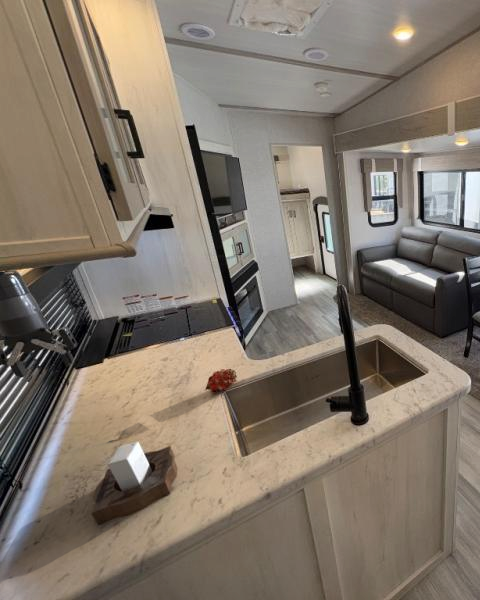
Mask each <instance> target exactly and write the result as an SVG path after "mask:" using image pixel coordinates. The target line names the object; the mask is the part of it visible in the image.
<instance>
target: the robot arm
mask: <svg viewBox="0 0 480 600" xmlns="http://www.w3.org/2000/svg"><path fill="white" fill-rule="evenodd" d="M0 335H1V336H2V337H3V340H0V367H1V366H8V367H10V369H11V371H12V372H13V374H14V376H16V377H19V378H25V377H27V375H28V374H29V373H28V370H27V369H26V366H25V365H24V363H23V361H22V360H20V359H21V357H22V355H23V354H24V353H25V354H28V353H32V352H34V351H35V352H36V351H43V350H45V349H46V350H49V351H53V352H56V353H59V354H60V358H61V359H62V362H63V363H64V365H65V367H70V366H72V364H73V362H74V361H75V358H74V356H73V354H72V352H71V351H72V350H74V349H75V348H76V347H77V346H78V342H77V340H76V338H75V337H74V335H73V333H72V332H71V330H70V328H69V327H68V326H65V325H64V326H62V327H61V328H58V329H51V328H50V327H49V324H48V322H47V319H46V318H45V316H44V314H43V312H42V310H41V308H40V306H39V304H38V303H37V300H36V299H35V297H34V295H32V293H31V292H30V290H29V288H28V286H27V284H26V281H25V280H24V277H23V275H21V273H20V272H19V271H18V270H16V269H15V270H13V271H5V272H0ZM54 336H57V337H58V338H61V339H62V341H63V342H64V343H62V342H61V341H59V340H57V339H55V338H54ZM5 346H7V347H9V348H11V349H13V350H12V351H11V354H10V356H9V357H7V355H6V352H5V350H4V348H5Z"/></svg>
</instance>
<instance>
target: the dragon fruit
mask: <svg viewBox="0 0 480 600" xmlns="http://www.w3.org/2000/svg"><path fill="white" fill-rule="evenodd" d="M237 378H238V377H237V372H236V370H234V369H231V368H227V369H225V368H220V369H219V370H217V371H215V372H213V373H212V374H211V375H210V376H209V377H208V379H207V380H208V381H207V383H206V386H205V389H204V390H205V391H206V392H208V391H209V393H210V394H216V393H218V392H221V391H222V390H224V392H226V391H227V390H228V389H230V388H231V387H232V386H233V385H234V383H236V382H238V381H237ZM218 390H219V391H218Z"/></svg>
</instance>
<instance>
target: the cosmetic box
mask: <svg viewBox="0 0 480 600" xmlns="http://www.w3.org/2000/svg"><path fill="white" fill-rule="evenodd" d="M144 453H145V452H144V450H143V448H142V446H141V444H140V442H139V441H135V442H130V443H127V444H123V445H120V446H118V448H117V449H116V451H115V452H114V454H113V455H112V457H111V458H110V460H109V461H108V462H107V467H108V469H110V470H111V472H112V473H113V475H114V477H115V479H116V481H117V483H118V485H119V486H120V488H121V490H122V491H126V490H129V489H132V488H134V487H136V486H138V485H140V484H141V483H143V482H145V481H146V480H147V479H148V478H149V477H150V476H151V475H152V474H153V471H152V469H151V467H150V465H149V463H148V461H147V459H146V457H145V455H144Z"/></svg>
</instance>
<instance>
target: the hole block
mask: <svg viewBox="0 0 480 600" xmlns="http://www.w3.org/2000/svg"><path fill="white" fill-rule="evenodd" d="M143 453H144V455H145V457H146V459H147V461H148V463H149V465H150V467H151V469H152V471H153V474H152V475H151V476H150V477H149V478H148V479H147V480H146V481H145V482H143V483H141V484H140V485H138V486H136V487H134V488H132V489H129V490H126V491H122V490H121V488H120V486H119V485H118V483H117V481H116V479H115V477H114V475H113V473H112V472H111V470H110V468H107V469H106V471H105V474H104V477H103V478H102V480H101V481H100V482H99V483H98V484H97V485H96V487H95V490H94V491H93V495H92V500H93V502H94V505H93V507H92V509H91V513H90V514H91V516H92V518H93V519H94V521H95V523H96V524H97V525H98V526H99V525H102V524H104V523H107V522H109V521H111V520H114V519H116V518H121V517H127V516H130V515H132V514H133V513H134V514H135V513H137V512H139V511H141V510H143V509H145V508H146V507H148V506H150V504H152V503H154V502H155V501H158V500H159V499H162V498H163V497H166V496H168V495H171V492H172V485H173V483H174V481H175V479H176V478H177V475H178V466H177V463H176V461H175V458H176V456H175V454H174V451H173V448H172V446H171V445H169V446H167V447H164V448H161V449H158V450H154V451H147V452H143Z"/></svg>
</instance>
